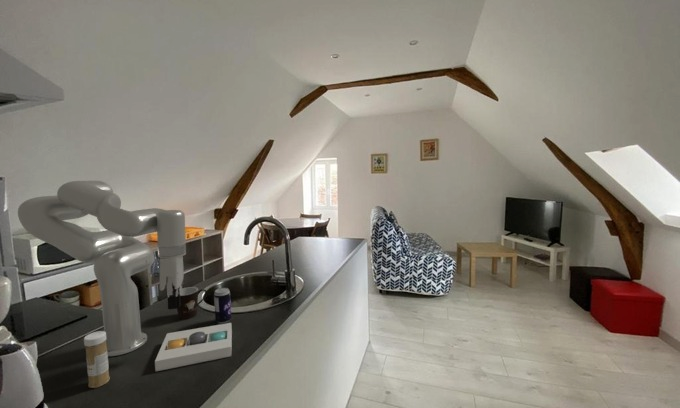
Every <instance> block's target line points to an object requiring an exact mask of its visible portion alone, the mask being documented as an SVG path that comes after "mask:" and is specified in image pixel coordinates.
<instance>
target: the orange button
mask: <svg viewBox="0 0 680 408" xmlns="http://www.w3.org/2000/svg"><path fill="white" fill-rule="evenodd" d="M180 347H185V346H184V340H183V339H175V340H173V341H171V342H169V343H168V350H169V349H175V348H180Z"/></svg>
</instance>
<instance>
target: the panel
mask: <svg viewBox="0 0 680 408" xmlns="http://www.w3.org/2000/svg"><path fill="white" fill-rule="evenodd" d="M232 328H233V327H232V322H227V323H223V324H216V325H210V326H204V327H198V328H192V329H186V330H185V329H184V330H181V331H180V330H179V331H174V332H167V333H166V335H165V337H164V339H163V341H162V344H161V347H160V349H159V351H158V353H157V356H156V358H155V360H154V369H155V372H159V371H161V372H162V371H164V370H170V369H175V368H180V367H185V366H191V365H195V364H199V363H203V362H204V363H205V362H209V361H215V360H219V359H224V358H229V357H232V350H233V349H232V346H233V345H232V344H233V343H232V342H233V341H232V340H233V337H232V335H233V329H232ZM196 332H204V333H205V343H202V344H196V345H191V346H190V338H189V337H190V335H191V334H193V333H196ZM215 332H225V339H223V340H218V341H212V342H211V337H210V336H211V335H212V334H213V333H215ZM175 339H183V340H184V346H185V347H180V348H175V349H169V350H168V343H169V342H171V341H173V340H175Z"/></svg>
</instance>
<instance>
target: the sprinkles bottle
mask: <svg viewBox="0 0 680 408" xmlns="http://www.w3.org/2000/svg"><path fill="white" fill-rule="evenodd" d="M106 339H107V338H106V332H104V330H99V331H94V332H90V333H89V334H87V335H85V336H84V338H83V345H84V347H85V354H86V357H85V360H86V369H87V372H86V373H87V377H88V384H87V385H88V388H90V389H97V388H100V387H101V386H104V385H106V384H107V383H109V381H110V379H111V377H110V372H109V356H108V354H107V346H106Z"/></svg>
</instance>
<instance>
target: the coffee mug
mask: <svg viewBox="0 0 680 408" xmlns="http://www.w3.org/2000/svg"><path fill="white" fill-rule="evenodd" d="M203 291H204V293H205V294H204V296H203V298H201V300H199V294H200V293H201V292H203ZM207 296H208V292H207V290H206V289H205V288H204V289H200V290H199V288H198V287H196V286H195V287H194V286H191V287H189V286H188V287H184V288H183V287H182V288H180V302H181V305H180V307H179V308H178V309H176V311H177V317H178V320H189V319H193V318H195V317H196V316H197V315H198V307H199V305H200V304H201V303H203V301H204V300H205V299H206V297H207ZM198 301H199V302H198Z"/></svg>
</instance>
